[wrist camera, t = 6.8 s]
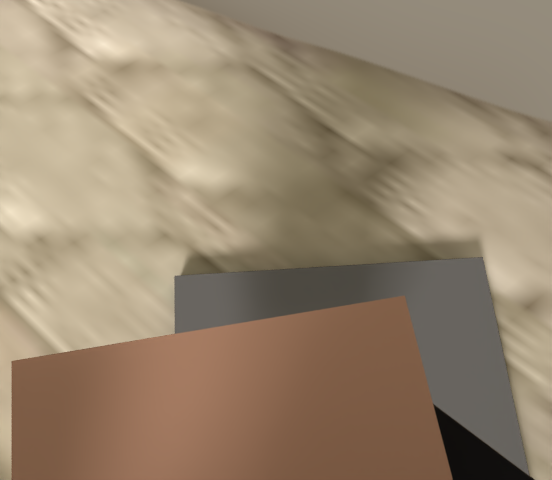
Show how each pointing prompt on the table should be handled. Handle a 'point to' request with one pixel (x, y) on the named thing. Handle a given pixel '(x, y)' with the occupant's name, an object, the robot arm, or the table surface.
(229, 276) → the rubber mat
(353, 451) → the terracotta block
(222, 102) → the table surface
